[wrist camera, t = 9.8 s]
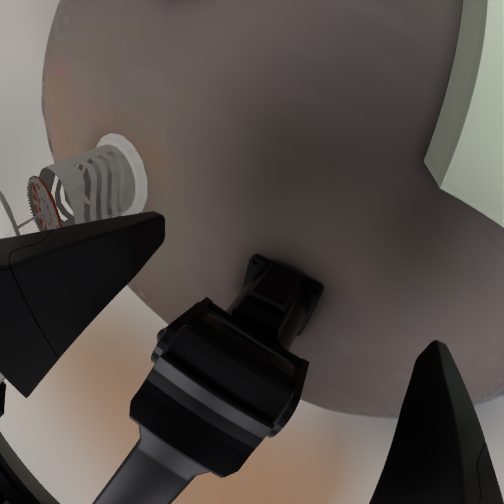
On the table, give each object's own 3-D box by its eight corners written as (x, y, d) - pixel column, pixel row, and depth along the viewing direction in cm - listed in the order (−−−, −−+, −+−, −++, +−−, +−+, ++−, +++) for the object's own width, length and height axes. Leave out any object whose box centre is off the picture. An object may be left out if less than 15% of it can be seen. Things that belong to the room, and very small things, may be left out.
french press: (141, 130, 22) (-115, 267, 3) (157, 239, 29) (-30, 395, 10) (88, 135, 26) (-99, 235, 7) (104, 224, 32) (-48, 336, 13)
